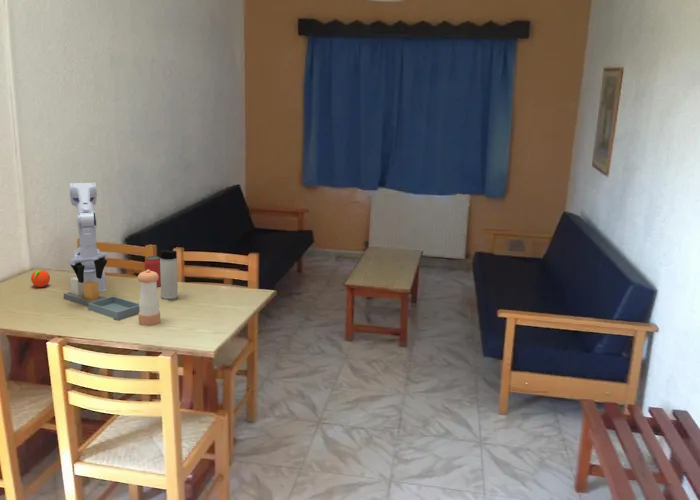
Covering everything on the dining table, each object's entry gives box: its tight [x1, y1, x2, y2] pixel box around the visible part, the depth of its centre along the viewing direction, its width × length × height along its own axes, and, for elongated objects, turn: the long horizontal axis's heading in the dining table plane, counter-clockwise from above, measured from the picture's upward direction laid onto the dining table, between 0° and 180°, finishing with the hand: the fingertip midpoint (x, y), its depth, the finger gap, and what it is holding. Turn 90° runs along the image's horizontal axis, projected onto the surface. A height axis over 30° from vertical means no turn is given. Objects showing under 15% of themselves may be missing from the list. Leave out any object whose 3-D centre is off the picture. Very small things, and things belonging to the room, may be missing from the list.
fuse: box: [69, 276, 85, 296], centre depth 239 cm, size 3×4×8 cm
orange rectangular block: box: [84, 281, 100, 301], centre depth 235 cm, size 3×4×8 cm
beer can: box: [144, 255, 161, 287], centre depth 261 cm, size 7×7×12 cm
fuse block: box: [63, 291, 107, 307], centre depth 238 cm, size 7×16×2 cm, turn 58°
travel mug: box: [159, 249, 179, 301], centre depth 244 cm, size 6×7×20 cm
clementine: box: [30, 269, 51, 288], centre depth 252 cm, size 8×7×7 cm
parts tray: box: [87, 295, 140, 321], centre depth 229 cm, size 11×16×3 cm
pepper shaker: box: [137, 270, 161, 326], centre depth 219 cm, size 7×7×19 cm
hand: (90, 280), depth 234 cm, fingers open, 7 cm apart
